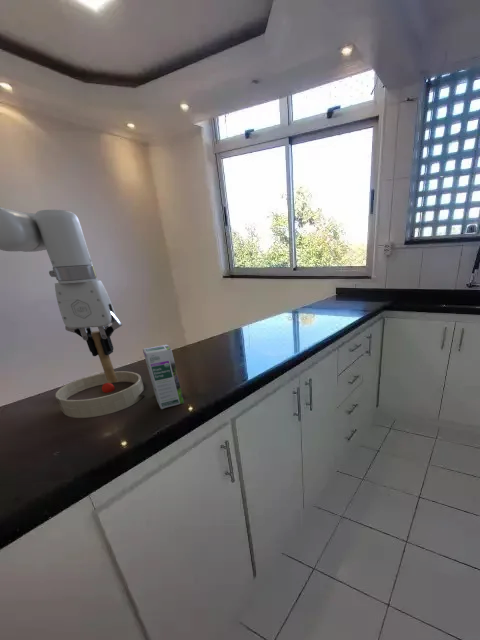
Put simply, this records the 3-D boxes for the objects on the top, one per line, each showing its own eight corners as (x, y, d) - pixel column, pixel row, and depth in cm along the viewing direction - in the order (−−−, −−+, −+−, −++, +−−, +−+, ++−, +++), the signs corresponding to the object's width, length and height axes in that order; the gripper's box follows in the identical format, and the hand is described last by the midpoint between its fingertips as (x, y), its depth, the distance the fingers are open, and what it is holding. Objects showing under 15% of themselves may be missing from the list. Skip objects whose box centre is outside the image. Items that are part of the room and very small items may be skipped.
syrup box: (160, 410, 76) (145, 353, 69) (156, 401, 80) (141, 347, 74) (184, 403, 79) (171, 348, 72) (179, 395, 83) (166, 343, 77)
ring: (45, 421, 73) (37, 404, 71) (85, 388, 90) (80, 374, 88) (129, 414, 75) (124, 397, 73) (154, 383, 92) (150, 369, 90)
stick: (106, 383, 79) (88, 333, 74) (110, 380, 81) (93, 331, 76) (115, 382, 80) (98, 332, 74) (118, 379, 81) (102, 330, 76)
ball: (101, 396, 83) (98, 386, 82) (106, 391, 86) (103, 381, 85) (113, 395, 84) (109, 385, 82) (117, 390, 86) (114, 380, 85)
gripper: (27, 278, 65) (60, 361, 73) (106, 274, 66) (131, 356, 74) (48, 275, 72) (77, 352, 80) (120, 271, 73) (141, 347, 81)
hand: (103, 353), depth 77 cm, fingers closed on stick, 2 cm apart
